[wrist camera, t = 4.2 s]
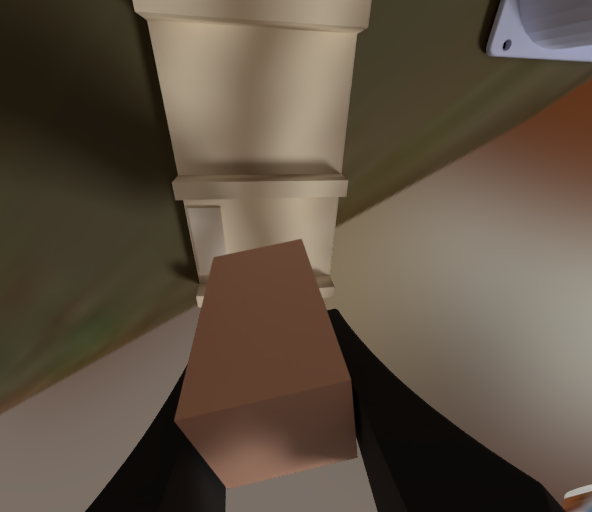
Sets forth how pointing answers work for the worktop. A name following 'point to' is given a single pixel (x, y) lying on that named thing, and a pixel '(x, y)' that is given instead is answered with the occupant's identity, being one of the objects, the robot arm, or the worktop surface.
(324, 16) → the notched rack
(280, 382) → the block
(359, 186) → the worktop surface
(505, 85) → the worktop surface
